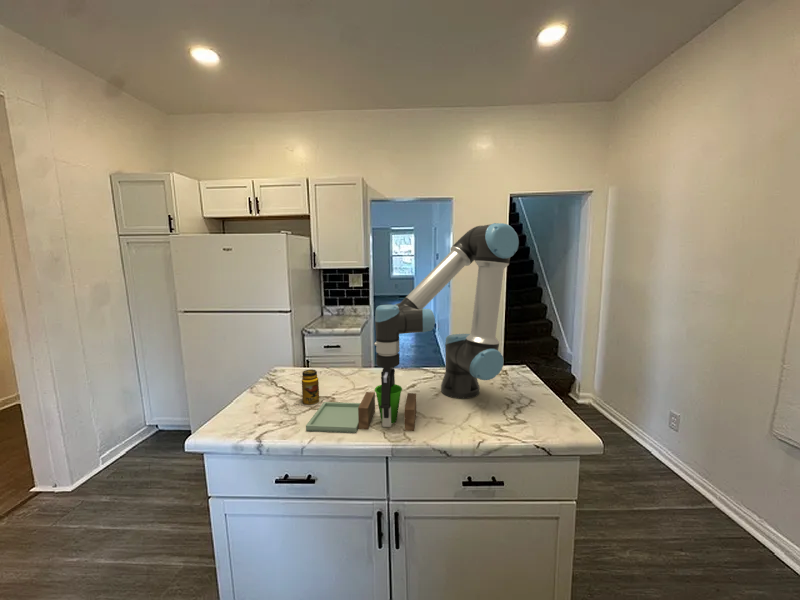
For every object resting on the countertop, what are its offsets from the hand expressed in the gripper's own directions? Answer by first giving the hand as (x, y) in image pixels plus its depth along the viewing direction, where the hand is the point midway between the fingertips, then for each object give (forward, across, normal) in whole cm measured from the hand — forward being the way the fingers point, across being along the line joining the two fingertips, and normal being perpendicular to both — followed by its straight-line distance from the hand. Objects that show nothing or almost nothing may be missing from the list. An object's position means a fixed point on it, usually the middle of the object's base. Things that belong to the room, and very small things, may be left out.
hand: (388, 419), depth 117 cm
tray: (0, 0, -17) cm, 17 cm away
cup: (+1, 0, 0) cm, 1 cm away
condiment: (+1, -13, -32) cm, 35 cm away
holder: (0, 0, 0) cm, 0 cm away
